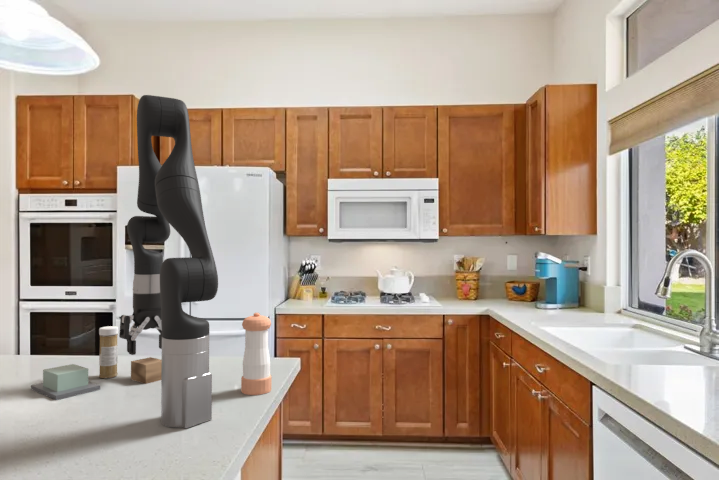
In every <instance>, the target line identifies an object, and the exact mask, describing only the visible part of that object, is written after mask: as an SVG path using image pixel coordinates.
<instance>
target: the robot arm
mask: <svg viewBox="0 0 719 480" xmlns="http://www.w3.org/2000/svg"><path fill="white" fill-rule="evenodd" d="M136 109H137V110H136V133H137V134H136V136H137V138H136V139H137V140H136V141H137V159H138V160H137V161H138V188H137V189H138V190H137V199H136V200H137V201H136V204H137V205H136V206H137V209H139V210H140V211H141V212H143V213H145V214H149V215H152V216H149V215H148V216H146V215H145V216H144V215H134V216H132V217H131V218H130V219H128V221H127V224H126V231H127V234H128V238H129V240H130V245H131V248H132V252H133V264H134V267H133V270H134V271H133V273H134V274H133V281H132V310H133V312H132V315H126V314H121V315H120V318H119V319H120V320H119V322H120V323H119V332H118V334H119V335H118V336H119V339H124V340H126V352H127V353H128V354H129V355H131V356H134V355H136V354H137V340H136V339H137V337H138V336H139V334H141V333H142V332H143V330H144V331H146V330H149V329H156V331H158V333H160V334H158V348H159V349H161V360H162V370H161V380H160V381H161V382H160V383H161V389H160V390H161V391H160V394H161V395H160V396H161V397H160V400H161V402H160V404H161V405H160V407H161V408H160V410H161V412H160V413H161V414H160V415H161V418H160V419H161V420H160V421H161V424H162V426H165V427H170V428H184V429H188V428H191V427H193V426H197V425H199V424H202V423H205V422H208V421H210V420H213V419H212V418H213V417H212V416H213V415H212V414H213V412H212V411H213V409H212V408H213V405H212V404H213V403H212V402H213V401H212V400H213V397H212V395H213V392H212V391H213V374H212V373H211V372H210V322H209V320H207V319H205V318H203V317H202V318H201V317H197V316H194V315H190V314H188V313H187V312H185V311H184V310H183V305H182V304H183V303H196V302H206V301H210V300H213V299H215V297H216V296H217V294H218V290H219V277H218V271H217V270H218V269H217V265H216V261H215V257H214V254H213V250H212V247H211V243H210V240H209V235H208V231H207V227H206V223H205V222H206V221H205V216H204V211H203V210H204V209H203V204H202V196H201V195H202V194H201V190H200V185H199V181H198V175H197V171H196V165H195V160H194V155H193V148H192V139H191V138H192V137H191V127H190V126H191V124H190V123H191V122H190V116H189V110H188V107H187V105H186V103H185V102H184V101H183V100H181V99H178V98H173V97H166V96H159V95H151V94H143V95H141V96H140V98H139V100H138V104H137V107H136ZM152 137H163V138H173V140H174V146H173V148H172V149H171V152H170V154H169V155H168V157H167V158H166V159H165V161H164V162H163V163H162V164H161V163H160V161H159V159H158V157H157V156H156V155H157V154H156V153H155V152H154V148H153V143H152ZM171 227H172V228H173V229H174V230H175V231H176V232H177V233H178V235H179V236H180V237H181V238H182V240H183V241H184V242H185V244H186V246H187V248H188V251H189V253H190V257H168V258H166V259H164V258H163V254H162V253H161V252H158V251H153V250H149V249H146V248H145V246H144V245H143V243H153V244H155V243H157V244H158V243H159V244H160V243H164V242H166V241H167V240H169V238H170V235H171ZM132 322H133V324H132V326H131V323H132ZM130 326H131V327H130Z"/></svg>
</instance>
